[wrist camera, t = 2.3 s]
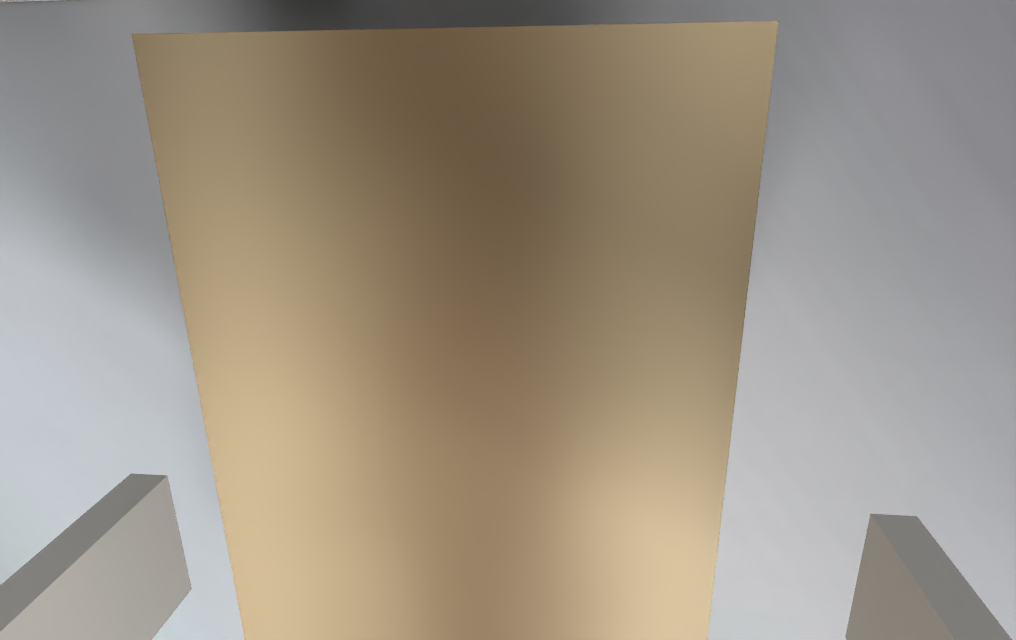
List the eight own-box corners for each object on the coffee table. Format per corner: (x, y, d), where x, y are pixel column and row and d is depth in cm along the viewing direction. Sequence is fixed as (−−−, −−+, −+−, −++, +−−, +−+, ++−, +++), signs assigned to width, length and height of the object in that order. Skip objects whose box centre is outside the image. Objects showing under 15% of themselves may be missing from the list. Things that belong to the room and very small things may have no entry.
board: (343, 789, 17) (298, 926, 14) (242, 46, 11) (131, 35, 8) (652, 815, 17) (669, 965, 14) (723, 37, 11) (778, 21, 8)
